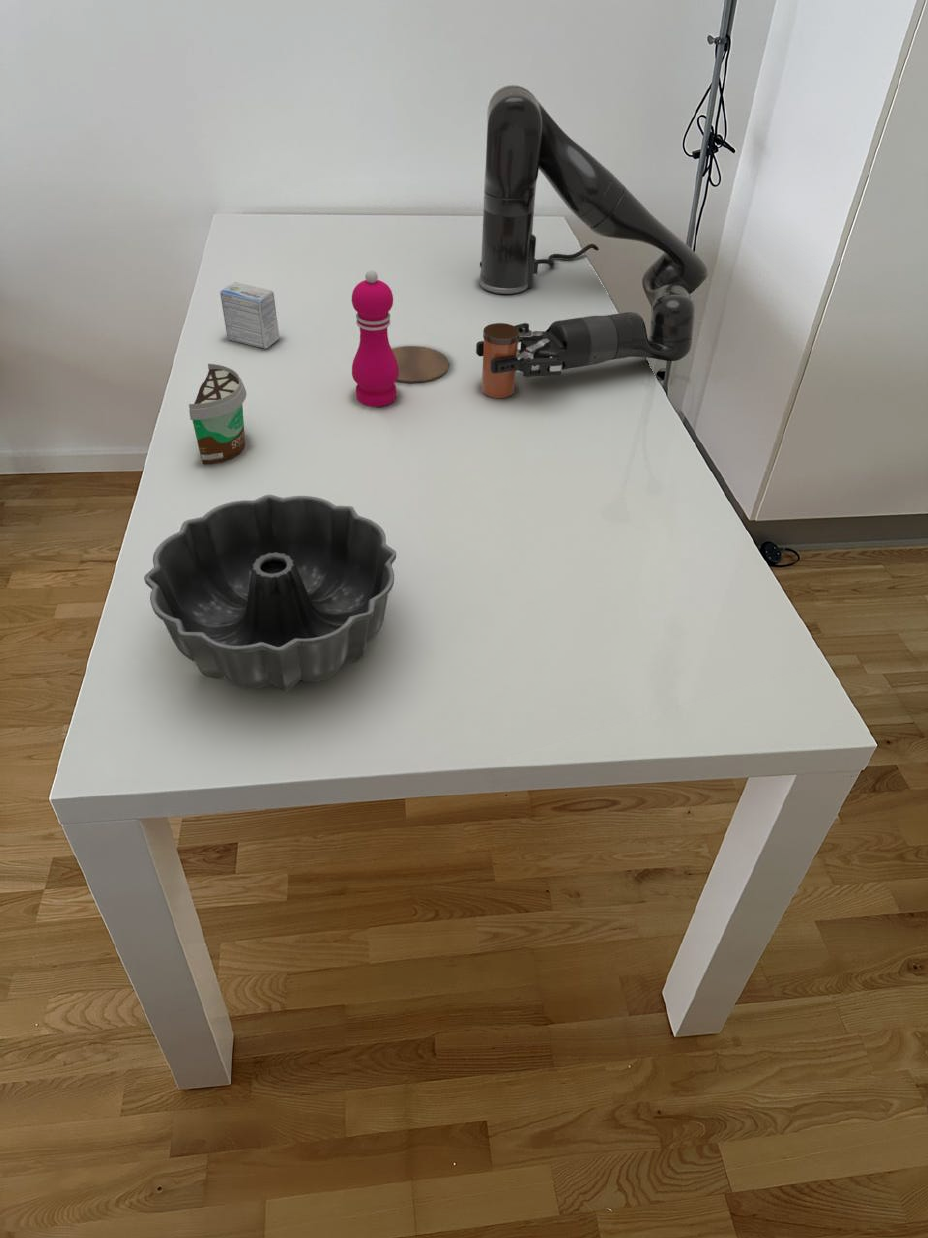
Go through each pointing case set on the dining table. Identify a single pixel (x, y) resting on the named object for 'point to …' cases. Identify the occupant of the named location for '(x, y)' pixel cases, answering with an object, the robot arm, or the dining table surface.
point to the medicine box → (250, 315)
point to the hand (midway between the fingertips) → (484, 357)
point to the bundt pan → (273, 589)
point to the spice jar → (498, 344)
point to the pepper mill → (374, 343)
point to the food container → (219, 415)
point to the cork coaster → (419, 364)
